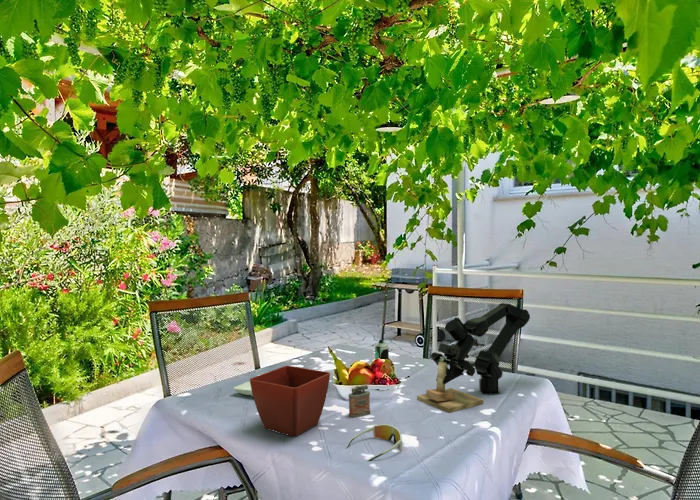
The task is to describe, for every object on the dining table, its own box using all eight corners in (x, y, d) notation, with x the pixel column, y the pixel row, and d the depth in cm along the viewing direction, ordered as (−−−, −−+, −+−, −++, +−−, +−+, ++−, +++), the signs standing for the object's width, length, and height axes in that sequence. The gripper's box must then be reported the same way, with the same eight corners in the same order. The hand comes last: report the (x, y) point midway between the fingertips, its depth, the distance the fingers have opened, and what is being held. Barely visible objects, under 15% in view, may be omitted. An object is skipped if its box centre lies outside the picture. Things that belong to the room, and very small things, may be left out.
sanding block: (442, 395, 181) (445, 360, 181) (453, 399, 176) (456, 363, 176) (426, 396, 177) (428, 361, 177) (437, 401, 171) (440, 364, 172)
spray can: (388, 390, 193) (387, 340, 193) (374, 390, 194) (373, 340, 194) (389, 386, 198) (389, 338, 198) (376, 386, 199) (375, 337, 199)
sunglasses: (412, 449, 139) (410, 433, 138) (372, 472, 130) (369, 454, 129) (380, 434, 150) (378, 419, 149) (341, 454, 141) (339, 438, 141)
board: (450, 391, 190) (450, 387, 190) (483, 403, 176) (483, 399, 176) (417, 399, 181) (417, 395, 181) (448, 413, 167) (448, 408, 167)
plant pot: (296, 444, 143) (295, 387, 143) (248, 431, 153) (247, 378, 153) (332, 423, 160) (331, 372, 159) (287, 413, 170) (286, 365, 169)
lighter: (351, 418, 163) (351, 389, 163) (347, 415, 166) (346, 386, 166) (372, 414, 167) (371, 385, 167) (367, 411, 170) (366, 383, 170)
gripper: (433, 331, 187) (411, 363, 181) (468, 339, 171) (446, 375, 165) (449, 348, 191) (428, 381, 185) (485, 358, 175) (463, 393, 169)
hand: (440, 382), depth 176 cm, fingers closed on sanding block, 3 cm apart
